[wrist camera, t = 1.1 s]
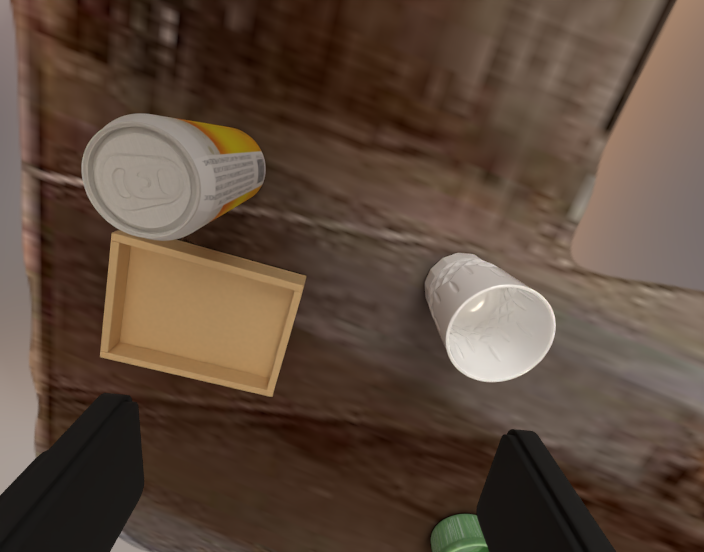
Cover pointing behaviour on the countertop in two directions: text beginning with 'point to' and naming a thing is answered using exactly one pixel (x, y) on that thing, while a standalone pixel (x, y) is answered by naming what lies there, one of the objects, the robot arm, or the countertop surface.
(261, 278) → the tray
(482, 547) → the ramekin
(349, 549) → the countertop surface
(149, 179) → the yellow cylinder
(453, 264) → the white cup
